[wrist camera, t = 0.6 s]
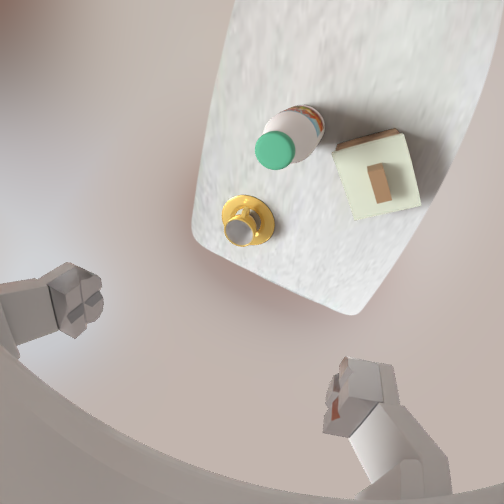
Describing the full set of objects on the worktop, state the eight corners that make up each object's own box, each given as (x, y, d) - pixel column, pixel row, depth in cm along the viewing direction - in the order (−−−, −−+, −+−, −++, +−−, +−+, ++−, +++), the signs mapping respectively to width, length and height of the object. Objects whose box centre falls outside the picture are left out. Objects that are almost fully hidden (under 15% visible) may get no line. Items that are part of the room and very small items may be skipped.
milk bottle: (330, 141, 47) (314, 177, 31) (289, 149, 50) (253, 188, 35) (318, 100, 43) (295, 111, 28) (276, 110, 47) (232, 129, 31)
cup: (268, 251, 65) (260, 265, 61) (219, 233, 67) (209, 245, 63) (281, 205, 58) (273, 217, 53) (226, 187, 59) (215, 197, 55)
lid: (402, 133, 35) (407, 138, 32) (420, 202, 40) (424, 214, 37) (332, 152, 41) (329, 159, 38) (354, 217, 46) (353, 229, 42)
